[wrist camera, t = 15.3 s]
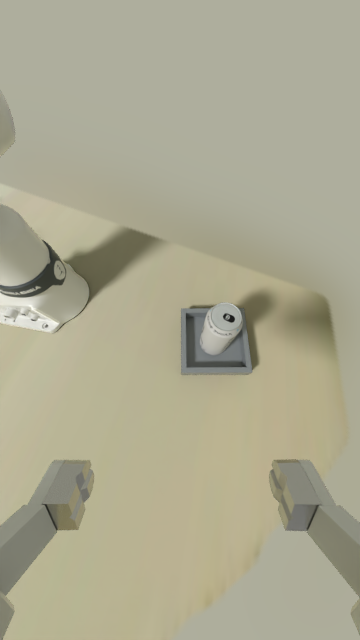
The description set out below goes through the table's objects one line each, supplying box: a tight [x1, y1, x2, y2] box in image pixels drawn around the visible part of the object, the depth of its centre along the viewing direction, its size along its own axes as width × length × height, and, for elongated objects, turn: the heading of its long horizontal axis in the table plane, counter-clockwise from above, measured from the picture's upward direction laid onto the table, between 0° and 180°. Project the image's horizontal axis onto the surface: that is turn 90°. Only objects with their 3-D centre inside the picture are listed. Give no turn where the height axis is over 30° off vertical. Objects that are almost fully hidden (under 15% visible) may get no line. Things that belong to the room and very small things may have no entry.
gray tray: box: [181, 308, 252, 375], centre depth 45 cm, size 14×14×4 cm
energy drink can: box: [200, 303, 243, 355], centre depth 39 cm, size 6×6×15 cm
